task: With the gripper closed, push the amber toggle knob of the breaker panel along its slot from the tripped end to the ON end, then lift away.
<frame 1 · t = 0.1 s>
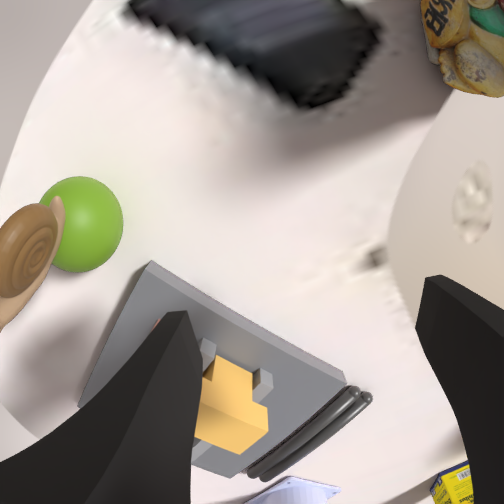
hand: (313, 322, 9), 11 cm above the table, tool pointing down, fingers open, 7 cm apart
decorative figurine: (456, 39, 15), on the table
toggle knob: (219, 401, 18), point 4 cm above the table, slide at 0.0 cm
supplement box: (449, 473, 31), on the table
breaker panel: (198, 393, 23), on the table
snail figurine: (96, 220, 19), on the table
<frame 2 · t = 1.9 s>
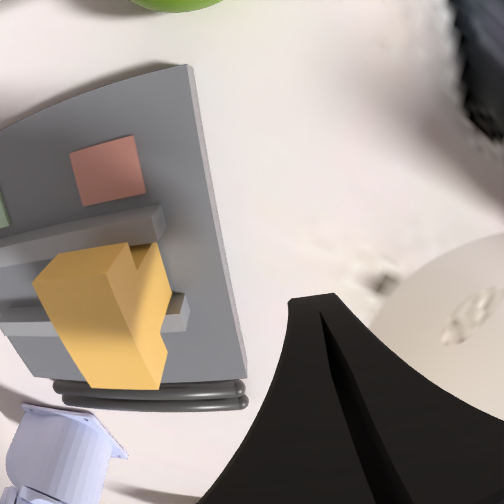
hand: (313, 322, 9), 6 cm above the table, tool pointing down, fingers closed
toggle knob: (116, 301, 12), point 4 cm above the table, slide at 0.0 cm
breaker panel: (78, 261, 15), on the table
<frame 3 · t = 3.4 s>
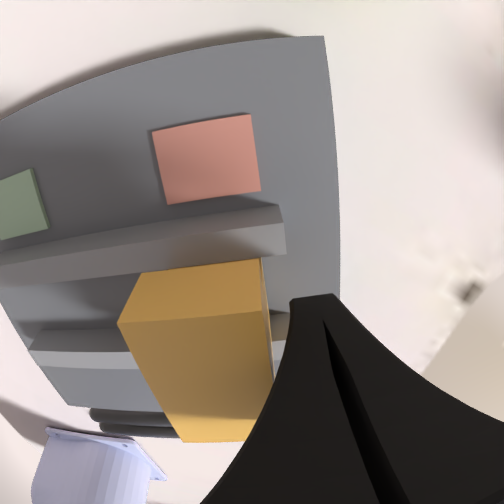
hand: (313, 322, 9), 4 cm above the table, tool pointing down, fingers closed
toggle knob: (218, 332, 9), point 4 cm above the table, slide at 0.3 cm, touching gripper
breaker panel: (140, 273, 13), on the table
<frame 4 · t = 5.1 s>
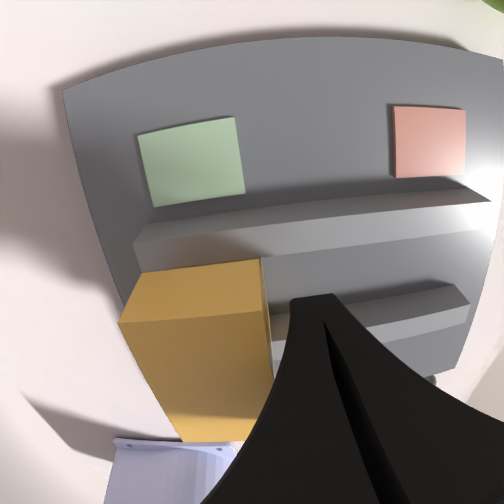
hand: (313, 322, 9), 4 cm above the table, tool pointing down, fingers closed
toggle knob: (218, 332, 9), point 4 cm above the table, slide at 7.8 cm, touching gripper
breaker panel: (318, 251, 13), on the table
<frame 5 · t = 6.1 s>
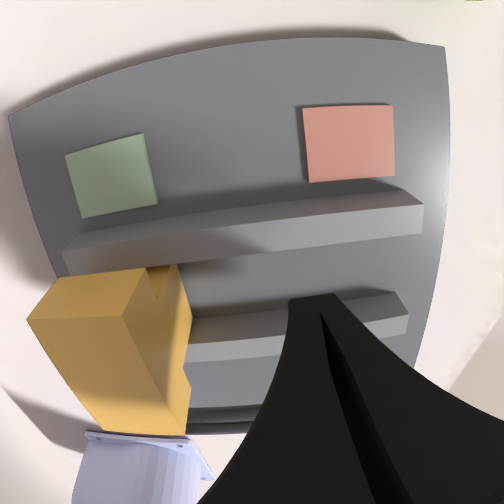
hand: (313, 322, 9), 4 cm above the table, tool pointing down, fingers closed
toggle knob: (129, 332, 10), point 4 cm above the table, slide at 7.8 cm
breaker panel: (245, 257, 13), on the table
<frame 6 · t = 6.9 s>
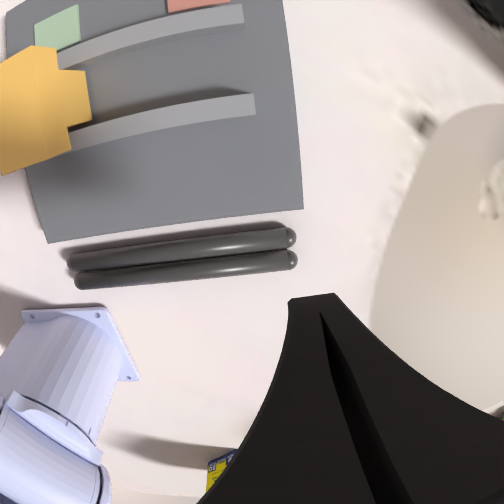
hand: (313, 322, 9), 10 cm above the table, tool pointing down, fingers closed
toggle knob: (41, 106, 11), point 4 cm above the table, slide at 7.8 cm
supplement box: (239, 460, 34), on the table
breaker panel: (138, 83, 15), on the table
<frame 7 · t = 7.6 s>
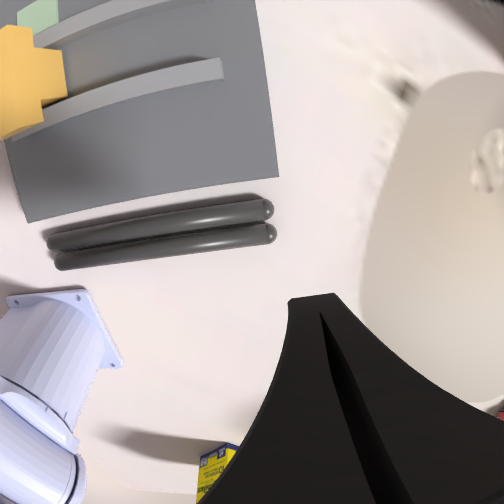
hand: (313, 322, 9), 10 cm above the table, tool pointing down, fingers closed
toggle knob: (18, 84, 11), point 4 cm above the table, slide at 7.8 cm
supplement box: (232, 455, 33), on the table
breaker panel: (113, 61, 14), on the table
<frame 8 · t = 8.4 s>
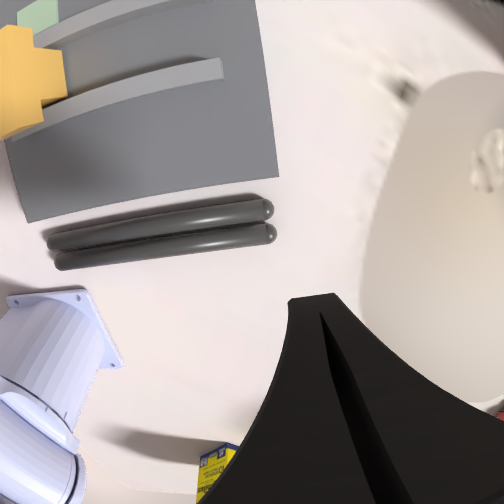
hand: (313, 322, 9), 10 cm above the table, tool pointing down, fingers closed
toggle knob: (18, 84, 11), point 4 cm above the table, slide at 7.8 cm
supplement box: (232, 455, 33), on the table
breaker panel: (113, 61, 14), on the table
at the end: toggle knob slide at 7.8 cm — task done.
